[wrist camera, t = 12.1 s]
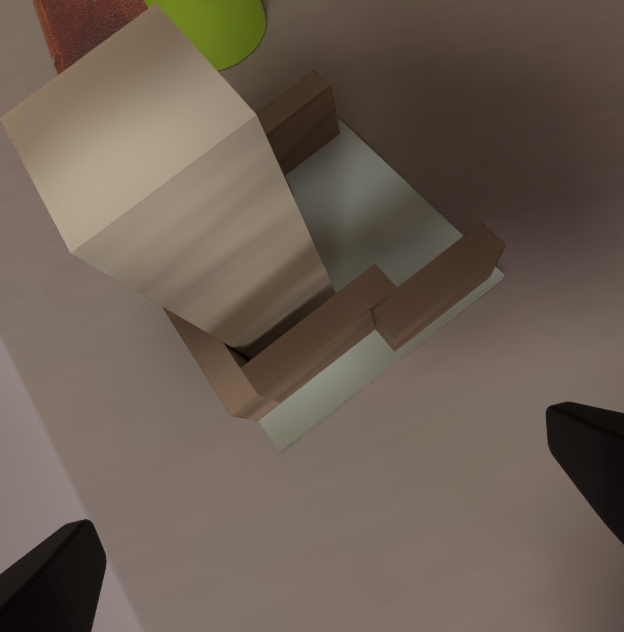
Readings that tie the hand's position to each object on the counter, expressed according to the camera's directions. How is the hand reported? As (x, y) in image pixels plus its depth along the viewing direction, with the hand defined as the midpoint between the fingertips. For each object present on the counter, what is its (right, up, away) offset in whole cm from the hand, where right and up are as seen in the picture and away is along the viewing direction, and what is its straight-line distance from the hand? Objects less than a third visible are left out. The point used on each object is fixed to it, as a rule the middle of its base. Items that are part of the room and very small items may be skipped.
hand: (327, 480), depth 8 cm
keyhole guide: (0, +6, +12) cm, 13 cm away
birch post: (-2, +4, +11) cm, 12 cm away
